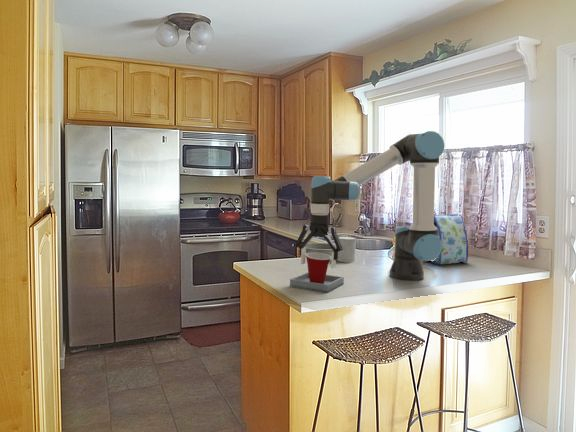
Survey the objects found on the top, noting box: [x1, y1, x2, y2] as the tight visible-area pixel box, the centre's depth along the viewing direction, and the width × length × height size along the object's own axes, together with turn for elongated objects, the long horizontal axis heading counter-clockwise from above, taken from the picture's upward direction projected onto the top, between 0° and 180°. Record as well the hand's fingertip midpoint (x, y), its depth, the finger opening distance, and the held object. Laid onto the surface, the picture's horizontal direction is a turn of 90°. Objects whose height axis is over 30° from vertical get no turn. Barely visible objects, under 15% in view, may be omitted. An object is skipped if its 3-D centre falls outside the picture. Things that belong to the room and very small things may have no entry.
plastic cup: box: [305, 253, 332, 284], centre depth 184 cm, size 11×11×12 cm
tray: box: [289, 271, 345, 294], centre depth 184 cm, size 17×17×3 cm
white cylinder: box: [336, 236, 357, 263], centre depth 239 cm, size 10×10×12 cm
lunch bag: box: [432, 213, 469, 265], centre depth 242 cm, size 22×17×26 cm
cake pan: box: [304, 242, 334, 257], centre depth 261 cm, size 25×25×4 cm
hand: (317, 265), depth 183 cm, fingers open, 13 cm apart
